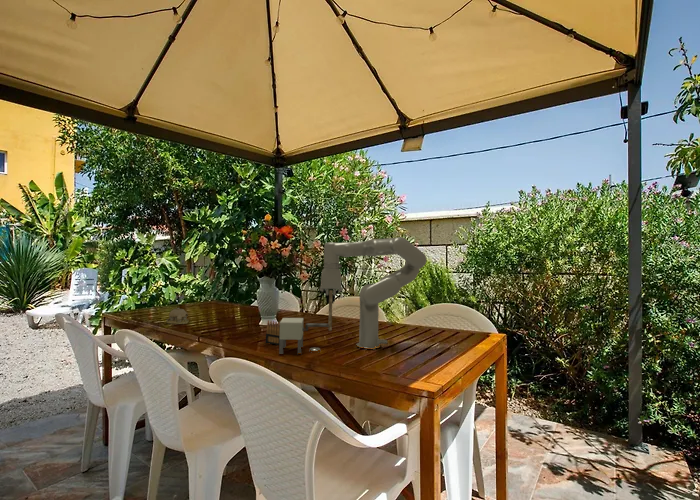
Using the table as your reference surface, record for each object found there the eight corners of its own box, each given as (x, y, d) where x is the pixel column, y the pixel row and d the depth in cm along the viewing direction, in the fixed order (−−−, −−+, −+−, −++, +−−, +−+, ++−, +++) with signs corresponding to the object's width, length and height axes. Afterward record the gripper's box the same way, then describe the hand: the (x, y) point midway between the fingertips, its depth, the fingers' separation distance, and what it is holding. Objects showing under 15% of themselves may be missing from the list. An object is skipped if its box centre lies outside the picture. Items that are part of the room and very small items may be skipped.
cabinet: (304, 348, 187) (305, 318, 187) (303, 354, 174) (303, 322, 175) (282, 347, 187) (283, 317, 187) (279, 354, 174) (279, 322, 174)
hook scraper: (331, 329, 193) (332, 289, 194) (331, 330, 188) (332, 290, 189) (305, 328, 192) (306, 289, 193) (305, 330, 187) (306, 290, 188)
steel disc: (320, 350, 184) (320, 347, 184) (319, 353, 179) (319, 350, 179) (309, 350, 183) (310, 347, 184) (309, 353, 178) (309, 350, 179)
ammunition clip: (265, 343, 196) (265, 320, 196) (267, 342, 197) (268, 319, 198) (281, 346, 190) (281, 322, 190) (283, 345, 192) (284, 321, 192)
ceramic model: (191, 321, 256) (192, 306, 256) (185, 324, 244) (185, 309, 245) (170, 321, 255) (170, 306, 255) (163, 324, 244) (163, 308, 244)
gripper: (346, 266, 195) (345, 302, 195) (316, 266, 194) (315, 302, 194) (347, 267, 188) (346, 304, 188) (315, 266, 187) (314, 303, 187)
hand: (330, 302), depth 191 cm, fingers closed on hook scraper, 1 cm apart
